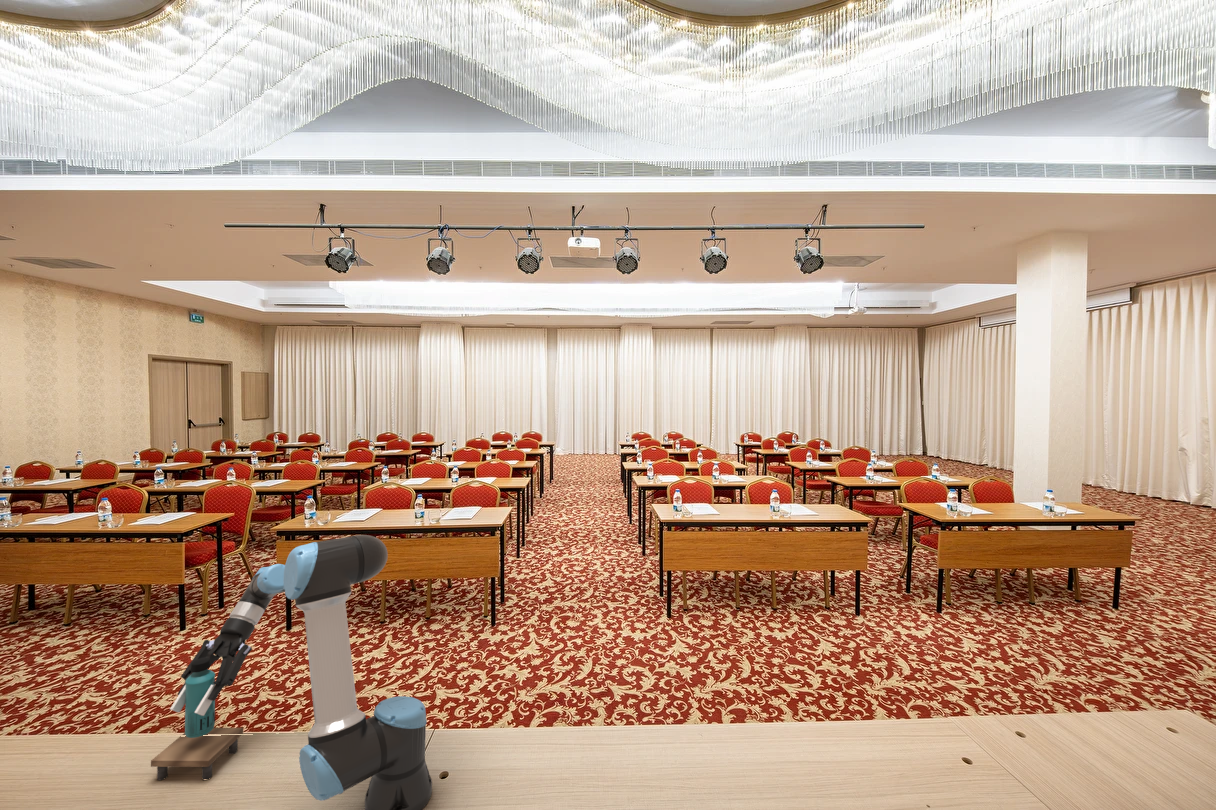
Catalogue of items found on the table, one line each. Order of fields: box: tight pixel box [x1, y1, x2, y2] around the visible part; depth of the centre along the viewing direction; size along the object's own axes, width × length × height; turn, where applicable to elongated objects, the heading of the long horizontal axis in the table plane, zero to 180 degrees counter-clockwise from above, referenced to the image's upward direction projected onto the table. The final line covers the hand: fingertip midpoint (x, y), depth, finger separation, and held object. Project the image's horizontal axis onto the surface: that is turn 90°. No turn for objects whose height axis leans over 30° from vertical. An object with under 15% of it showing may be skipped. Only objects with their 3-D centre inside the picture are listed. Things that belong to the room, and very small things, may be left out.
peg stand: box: [150, 727, 244, 781], centre depth 137 cm, size 14×13×6 cm
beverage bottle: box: [183, 658, 217, 738], centre depth 136 cm, size 6×7×20 cm
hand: (187, 712), depth 133 cm, fingers closed on beverage bottle, 6 cm apart
